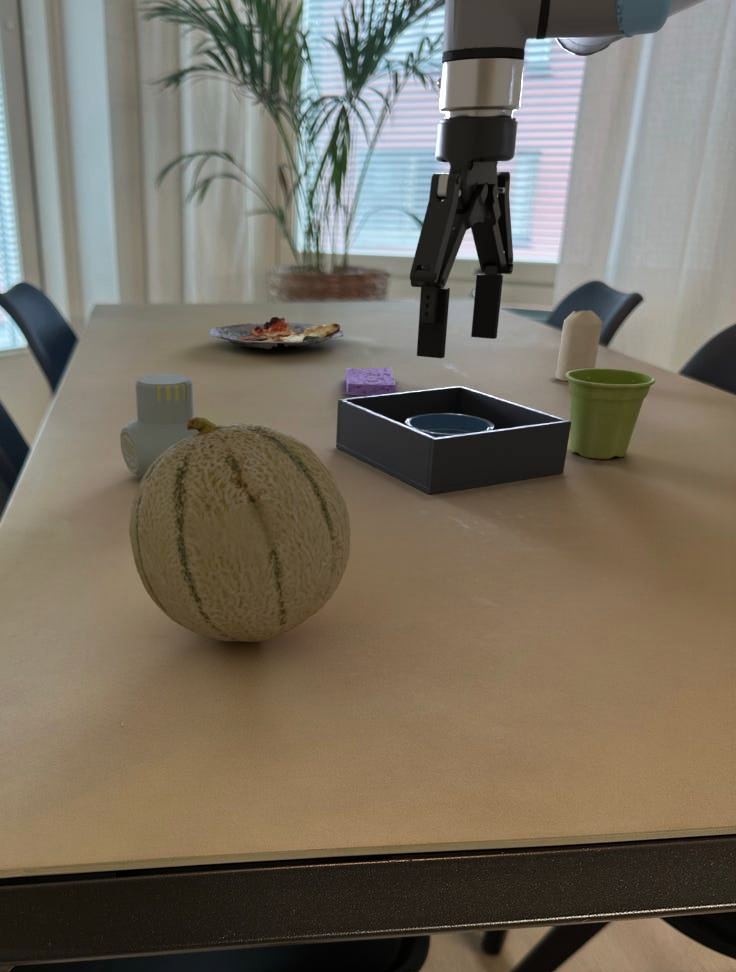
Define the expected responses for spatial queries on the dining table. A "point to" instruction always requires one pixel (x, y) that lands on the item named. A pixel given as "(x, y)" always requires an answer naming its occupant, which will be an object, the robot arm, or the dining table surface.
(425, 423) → the blue round bowl
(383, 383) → the sponge
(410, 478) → the tub
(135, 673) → the dining table surface
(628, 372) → the plant pot
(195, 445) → the cantaloupe
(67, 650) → the dining table surface
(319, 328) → the food plate
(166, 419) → the air freshener
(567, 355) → the candle
